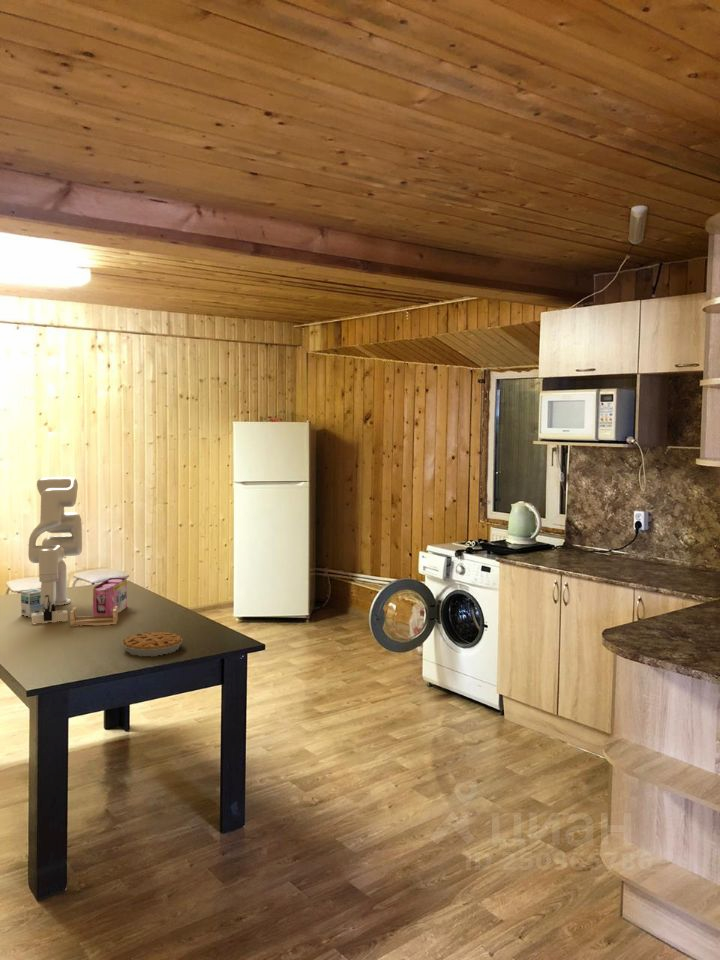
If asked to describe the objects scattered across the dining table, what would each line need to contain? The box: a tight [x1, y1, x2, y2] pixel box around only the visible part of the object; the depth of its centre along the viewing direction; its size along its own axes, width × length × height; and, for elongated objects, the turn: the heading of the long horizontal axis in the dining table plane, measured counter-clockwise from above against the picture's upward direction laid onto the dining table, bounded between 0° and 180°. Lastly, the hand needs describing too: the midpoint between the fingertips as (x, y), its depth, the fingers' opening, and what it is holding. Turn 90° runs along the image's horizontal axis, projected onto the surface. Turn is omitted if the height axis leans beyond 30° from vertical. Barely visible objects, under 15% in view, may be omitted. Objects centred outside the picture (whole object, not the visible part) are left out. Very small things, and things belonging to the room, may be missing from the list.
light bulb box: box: [20, 587, 44, 618], centre depth 349 cm, size 11×7×11 cm, turn 146°
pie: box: [121, 631, 183, 657], centre depth 297 cm, size 22×22×5 cm
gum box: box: [92, 577, 128, 616], centre depth 353 cm, size 24×8×14 cm, turn 178°
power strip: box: [30, 609, 69, 625], centre depth 337 cm, size 4×14×4 cm, turn 116°
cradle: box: [69, 606, 119, 627], centre depth 335 cm, size 8×18×6 cm, turn 102°
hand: (49, 618), depth 337 cm, fingers open, 7 cm apart
